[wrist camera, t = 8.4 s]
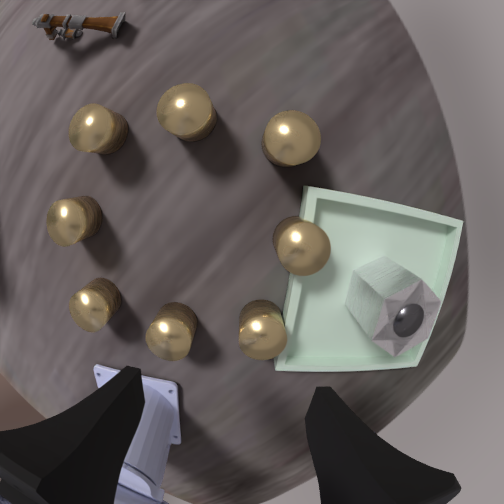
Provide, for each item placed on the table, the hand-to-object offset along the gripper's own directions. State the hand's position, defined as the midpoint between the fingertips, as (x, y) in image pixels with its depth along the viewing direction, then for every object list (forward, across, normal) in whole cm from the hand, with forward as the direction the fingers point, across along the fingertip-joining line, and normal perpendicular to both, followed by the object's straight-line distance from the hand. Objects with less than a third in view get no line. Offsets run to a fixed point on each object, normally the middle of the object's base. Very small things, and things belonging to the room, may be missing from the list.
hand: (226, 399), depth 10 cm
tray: (+9, -10, -2) cm, 14 cm away
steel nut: (+9, -10, -2) cm, 14 cm away
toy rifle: (+10, +14, -20) cm, 27 cm away
